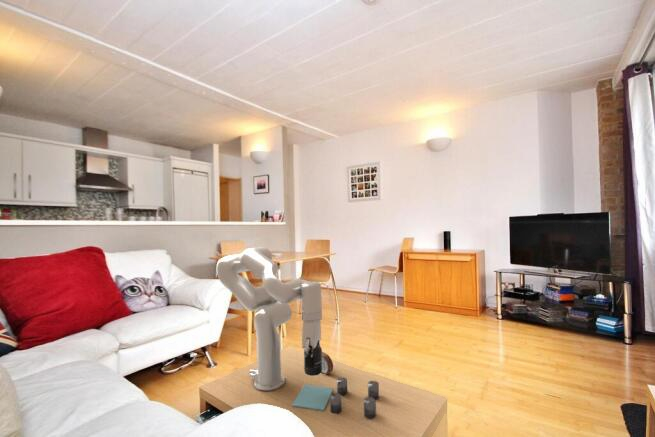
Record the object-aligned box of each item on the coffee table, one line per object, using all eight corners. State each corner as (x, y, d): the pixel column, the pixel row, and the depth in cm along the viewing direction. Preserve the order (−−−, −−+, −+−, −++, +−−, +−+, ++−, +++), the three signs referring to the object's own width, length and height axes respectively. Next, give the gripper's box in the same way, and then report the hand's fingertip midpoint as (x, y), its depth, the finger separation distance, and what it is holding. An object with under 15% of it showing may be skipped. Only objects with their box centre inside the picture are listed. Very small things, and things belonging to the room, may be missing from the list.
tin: (333, 375, 132) (333, 355, 132) (328, 377, 130) (328, 358, 130) (311, 363, 143) (310, 345, 143) (306, 365, 141) (305, 347, 141)
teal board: (291, 406, 111) (291, 405, 111) (304, 385, 124) (304, 384, 124) (323, 411, 107) (323, 409, 107) (333, 389, 121) (333, 388, 121)
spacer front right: (363, 418, 103) (363, 403, 103) (365, 410, 107) (364, 396, 107) (375, 419, 102) (375, 404, 102) (376, 412, 106) (376, 398, 106)
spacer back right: (367, 399, 114) (367, 385, 114) (368, 393, 118) (368, 380, 118) (378, 400, 113) (378, 387, 113) (379, 394, 117) (379, 381, 117)
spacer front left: (329, 412, 106) (328, 398, 106) (331, 406, 110) (331, 392, 110) (340, 414, 105) (340, 400, 105) (342, 407, 109) (342, 393, 109)
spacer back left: (336, 395, 117) (335, 382, 117) (338, 389, 121) (338, 376, 121) (346, 396, 116) (346, 383, 116) (348, 390, 120) (348, 377, 120)
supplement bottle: (320, 377, 112) (319, 344, 112) (302, 375, 113) (301, 343, 113) (324, 368, 118) (323, 337, 118) (307, 366, 120) (306, 336, 120)
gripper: (309, 308, 125) (310, 351, 125) (294, 322, 108) (295, 372, 108) (327, 309, 123) (328, 353, 123) (314, 323, 106) (316, 374, 106)
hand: (313, 361), depth 116 cm, fingers closed on supplement bottle, 6 cm apart
